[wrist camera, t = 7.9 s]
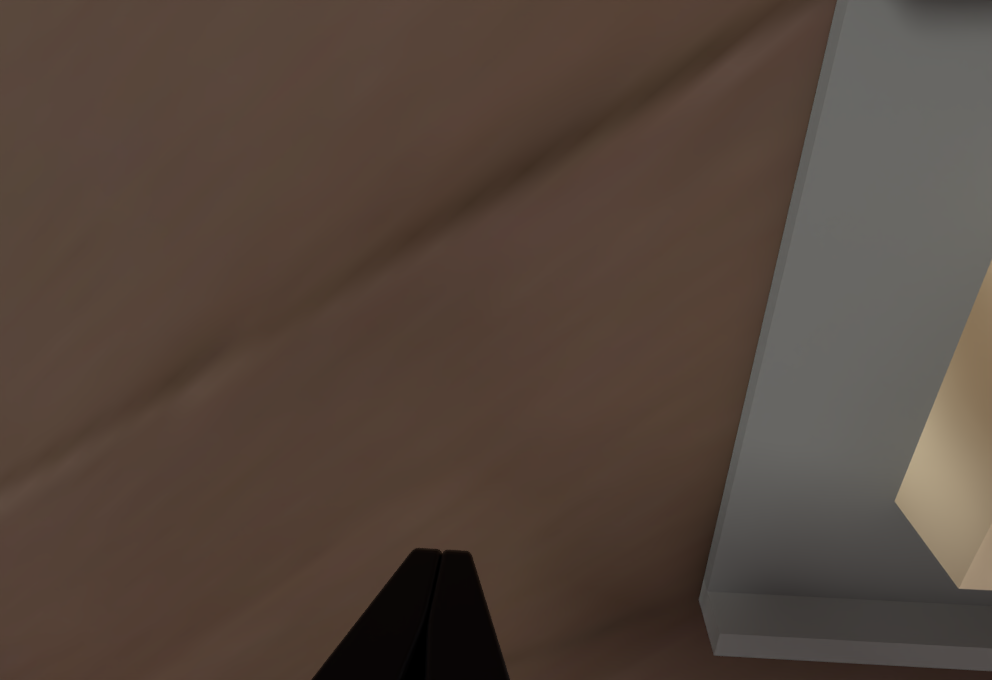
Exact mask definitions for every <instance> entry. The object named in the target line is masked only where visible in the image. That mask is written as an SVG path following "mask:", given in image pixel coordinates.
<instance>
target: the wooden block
mask: <svg viewBox="0 0 992 680" xmlns="http://www.w3.org/2000/svg"><path fill="white" fill-rule="evenodd" d="M895 503H896V504H897V505H898V507H899V508H900V510H901V511H902V512H903V514H904V515H905V516H906V518H907V519H908V520H909V522H910V523H911V525H912V526H913V527H914V529H915V530H916V531H917V533H918V534H919V535H920V537H921V538H922V540H923V541H924V542H925V544H926V545H927V546H928V548H929V549H930V550H931V552H932V553H933V555H934V556H935V557H936V559H937V560H938V561H939V563H940V564H941V566H942V567H943V568H944V570H945V571H946V572H947V574H948V575H949V576H950V578H951V579H952V581H953V582H954V583H955V585H956V586H957V587H958V589H974V590H992V260H991V263H990V265H989V268H988V270H987V273H986V275H985V278H984V280H983V282H982V285H981V287H980V290H979V292H978V295H977V297H976V300H975V302H974V305H973V307H972V310H971V312H970V315H969V317H968V320H967V322H966V325H965V327H964V330H963V332H962V335H961V337H960V340H959V342H958V345H957V347H956V350H955V352H954V355H953V357H952V360H951V362H950V365H949V367H948V370H947V372H946V374H945V377H944V379H943V382H942V384H941V387H940V389H939V392H938V394H937V397H936V399H935V402H934V404H933V407H932V409H931V412H930V414H929V417H928V419H927V422H926V424H925V427H924V429H923V432H922V434H921V437H920V439H919V442H918V444H917V447H916V449H915V452H914V454H913V457H912V459H911V462H910V464H909V467H908V469H907V471H906V474H905V476H904V479H903V481H902V484H901V486H900V489H899V491H898V494H897V496H896V499H895Z"/></svg>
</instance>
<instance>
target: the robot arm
mask: <svg viewBox="0 0 992 680" xmlns="http://www.w3.org/2000/svg"><path fill="white" fill-rule="evenodd" d="M312 680H510V678H509V675H508V672H507V668H506V665H505V662H504V659H503V655H502V652H501V649H500V645H499V642H498V639H497V636H496V632H495V629H494V626H493V623H492V619H491V616H490V613H489V610H488V606H487V603H486V600H485V597H484V593H483V590H482V587H481V584H480V580H479V577H478V574H477V570H476V567H475V564H474V561H473V557H472V555H471V553H470V552H468V551H460V550H445V551H444V552H443V553H442V552H441V551H440V550H438V549H427V548H416V549H414V550H413V551H412V552H411V553H410V554H409V555H408V557H407V558H406V559H405V560H404V562H403V563H402V564H401V566H400V567H399V568H398V569H397V571H396V572H395V573H394V575H393V576H392V577H391V578H390V580H389V581H388V582H387V584H386V585H385V586H384V587H383V589H382V590H381V591H380V593H379V594H378V595H377V596H376V598H375V599H374V600H373V601H372V603H371V604H370V605H369V607H368V608H367V609H366V610H365V612H364V613H363V614H362V616H361V617H360V618H359V619H358V621H357V622H356V623H355V625H354V626H353V627H352V628H351V630H350V631H349V632H348V634H347V635H346V636H345V637H344V639H343V640H342V641H341V643H340V644H339V645H338V646H337V648H336V649H335V650H334V651H333V653H332V654H331V655H330V657H329V658H328V659H327V660H326V662H325V663H324V664H323V666H322V667H321V668H320V669H319V671H318V672H317V673H316V675H315V676H314V677H313V678H312Z"/></svg>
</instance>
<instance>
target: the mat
mask: <svg viewBox="0 0 992 680" xmlns="http://www.w3.org/2000/svg"><path fill="white" fill-rule="evenodd" d="M991 260H992V0H837V3H836V8H835V12H834V16H833V21H832V25H831V29H830V34H829V38H828V42H827V47H826V51H825V55H824V60H823V64H822V68H821V73H820V77H819V81H818V86H817V90H816V94H815V99H814V103H813V107H812V112H811V116H810V120H809V125H808V129H807V133H806V138H805V142H804V146H803V151H802V155H801V159H800V164H799V168H798V172H797V177H796V181H795V185H794V190H793V194H792V198H791V203H790V207H789V211H788V216H787V220H786V224H785V229H784V233H783V237H782V242H781V246H780V250H779V255H778V259H777V263H776V268H775V272H774V276H773V281H772V285H771V289H770V294H769V298H768V302H767V306H766V311H765V315H764V319H763V324H762V328H761V332H760V337H759V341H758V345H757V350H756V354H755V358H754V363H753V367H752V371H751V376H750V380H749V384H748V389H747V393H746V397H745V402H744V406H743V410H742V415H741V419H740V423H739V428H738V432H737V436H736V441H735V445H734V449H733V454H732V458H731V462H730V467H729V471H728V475H727V480H726V484H725V488H724V493H723V497H722V501H721V506H720V510H719V514H718V519H717V523H716V527H715V532H714V536H713V540H712V545H711V549H710V553H709V558H708V562H707V566H706V571H705V575H704V579H703V584H702V588H701V592H700V597H699V603H700V606H701V610H702V614H703V617H704V621H705V625H706V628H707V632H708V636H709V639H710V643H711V646H712V650H713V654H714V655H715V656H732V657H750V658H767V659H785V660H803V661H820V662H838V663H856V664H873V665H891V666H908V667H926V668H944V669H961V670H979V671H992V590H974V589H958V587H957V586H956V585H955V583H954V582H953V581H952V579H951V578H950V576H949V575H948V574H947V572H946V571H945V570H944V568H943V567H942V566H941V564H940V563H939V561H938V560H937V559H936V557H935V556H934V555H933V553H932V552H931V550H930V549H929V548H928V546H927V545H926V544H925V542H924V541H923V540H922V538H921V537H920V535H919V534H918V533H917V531H916V530H915V529H914V527H913V526H912V525H911V523H910V522H909V520H908V519H907V518H906V516H905V515H904V514H903V512H902V511H901V510H900V508H899V507H898V505H897V504H896V503H895V499H896V496H897V494H898V491H899V489H900V486H901V484H902V481H903V479H904V476H905V474H906V471H907V469H908V467H909V464H910V462H911V459H912V457H913V454H914V452H915V449H916V447H917V444H918V442H919V439H920V437H921V434H922V432H923V429H924V427H925V424H926V422H927V419H928V417H929V414H930V412H931V409H932V407H933V404H934V402H935V399H936V397H937V394H938V392H939V389H940V387H941V384H942V382H943V379H944V377H945V374H946V372H947V370H948V367H949V365H950V362H951V360H952V357H953V355H954V352H955V350H956V347H957V345H958V342H959V340H960V337H961V335H962V332H963V330H964V327H965V325H966V322H967V320H968V317H969V315H970V312H971V310H972V307H973V305H974V302H975V300H976V297H977V295H978V292H979V290H980V287H981V285H982V282H983V280H984V278H985V275H986V273H987V270H988V268H989V265H990V263H991Z"/></svg>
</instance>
